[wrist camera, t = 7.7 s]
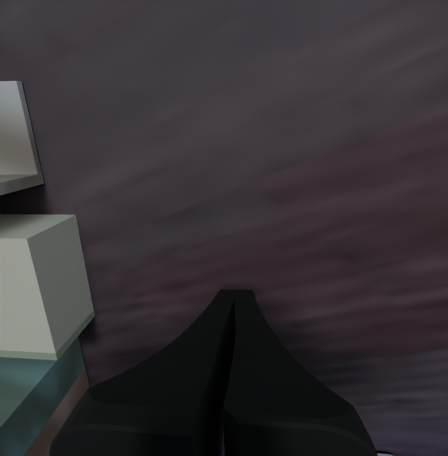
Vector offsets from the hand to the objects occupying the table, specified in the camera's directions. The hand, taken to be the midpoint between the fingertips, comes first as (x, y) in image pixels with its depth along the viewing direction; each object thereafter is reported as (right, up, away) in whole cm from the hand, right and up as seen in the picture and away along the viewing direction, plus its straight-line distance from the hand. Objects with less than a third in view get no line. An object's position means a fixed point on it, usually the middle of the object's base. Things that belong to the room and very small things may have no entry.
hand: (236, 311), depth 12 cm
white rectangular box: (-12, +1, +4) cm, 13 cm away
